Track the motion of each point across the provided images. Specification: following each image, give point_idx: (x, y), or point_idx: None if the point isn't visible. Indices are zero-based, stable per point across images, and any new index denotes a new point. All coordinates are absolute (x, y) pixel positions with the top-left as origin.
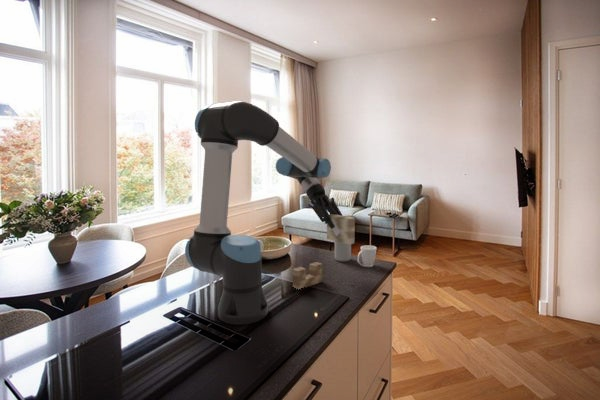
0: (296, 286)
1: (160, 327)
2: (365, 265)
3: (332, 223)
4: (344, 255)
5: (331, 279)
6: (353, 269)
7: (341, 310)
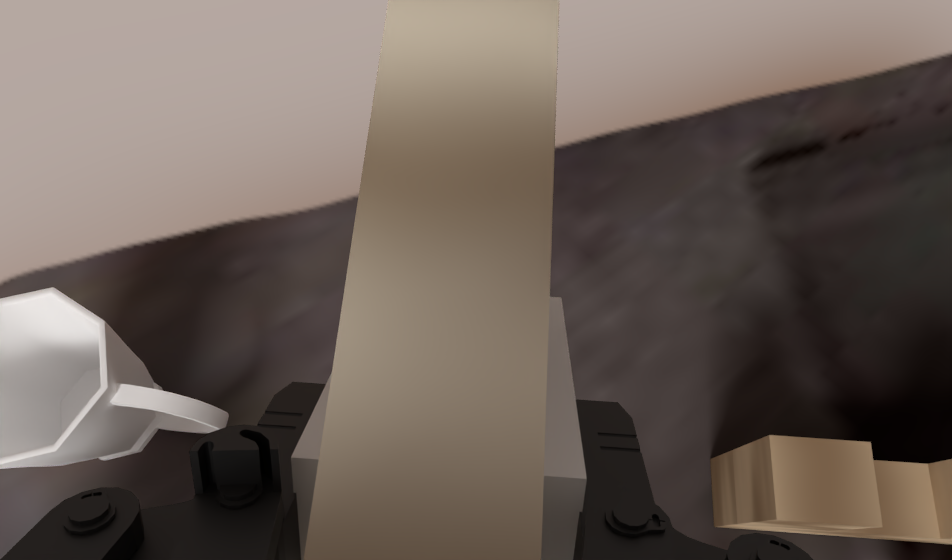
0: None
1: None
2: (157, 415)
3: (586, 448)
4: None
5: None
6: None
7: (904, 104)
